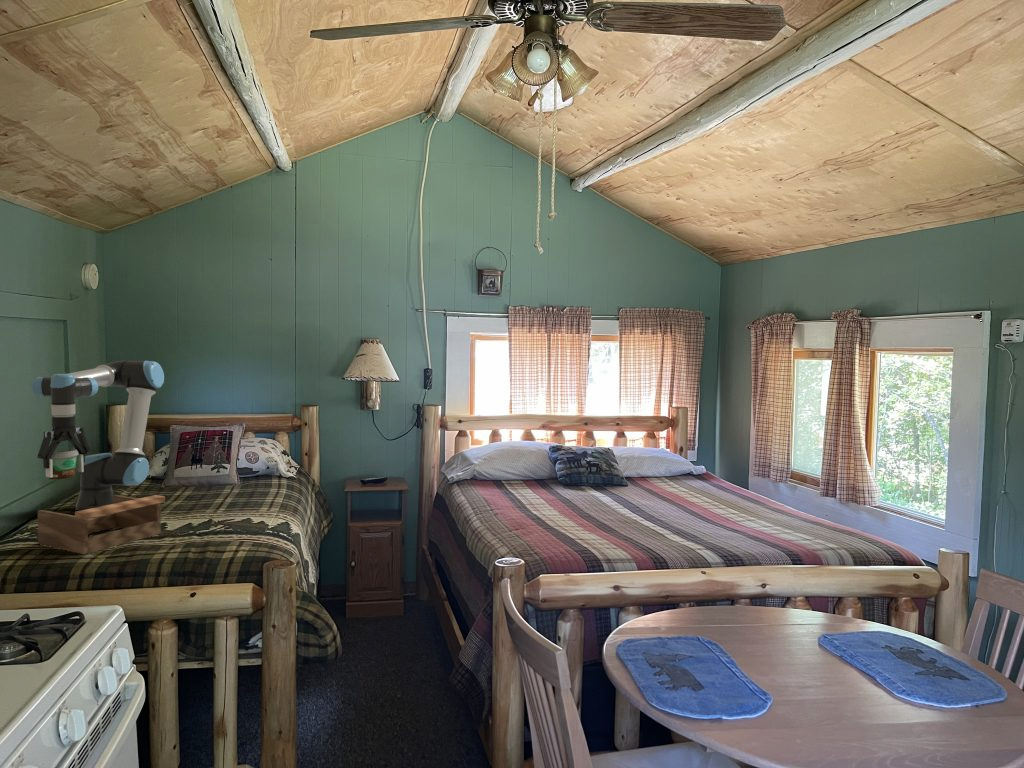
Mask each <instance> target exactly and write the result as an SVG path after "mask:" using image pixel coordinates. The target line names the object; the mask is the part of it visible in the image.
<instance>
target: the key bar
mask: <svg viewBox="0 0 1024 768" xmlns="http://www.w3.org/2000/svg"><path fill="white" fill-rule="evenodd" d="M165 502H166V497H165V496H163V495H157V494H154V495H150V496H149V495H148V496H145V497H141V498H139V499H134V500H130V501H125V502H120V503H115V504H110V505H106V506H101V507H96V508H91V509H87V510H82V511H74V516H75V518H79V519H87V520H88V519H92V518H97V517H101V516H106V515H110V514H113V513H117V512H121V511H126V510H130V509H135V508H139V507H144V506H148V505H153V504H157V503H161V504H162V503H165Z"/></svg>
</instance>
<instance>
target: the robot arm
mask: <svg viewBox="0 0 1024 768" xmlns="http://www.w3.org/2000/svg"><path fill="white" fill-rule="evenodd" d="M164 383H165V374H164V370H163V367H162V366H161V364H159V363H158V362H156V361H153V360H150V361H149V360H126V359H125V360H117V361H114V362H113V361H112V362H109V363H104V364H100V365H99V364H98V366H96V367H95V368H90V369H85V370H80V371H74V372H70V373H69V372H68V373H54V374H52V375H51V376H38V377H36V378H34V379H33V380H32V382H31V390H32V391H31V392H32V393H33V395H35V396H37V397H43V398H46V397H49V398H50V397H51V398H50V399H51V402H50V404H51V409H50V410H51V415H52V417H51V427H52V430H50V431H46V430H45V431H43V438H42V441H41V444H40V447H39V451H38V454H37V457H36V458H38V459H41V460H43V462H42V463H43V469H45V477H46V478H49V477H50V478H51V477H53V466H52V459H50V458H51V456H52V454H53V453H55V451H56V449H57V447H59V444H60V443H61V442H65V441H66V442H67V441H68V442H70V444H71V445H72V446H73V448H75V449H77V450H78V454H79V455H77V458H76V472H79V478H80V479H79V483H80V484H79V485H80V489H79V490H80V491H79V495H78V497H77V500H76V503H75V511H76V510H78V511H82V510H87V509H91V508H96V507H101V506H106V505H110V504H113V496H115V494H114V491H113V486H115V485H116V486H127V487H129V486H130V487H131V486H138V485H141V484H142V483H143V482H144V481H145V480H146V478H147V477H148V475H149V471H150V465H149V463H150V462H149V460H148V459H147V458H146V454H145V452H144V451H143V447H144V440H145V434H146V429H147V423H148V417H149V413H150V412H149V410H150V405H151V400H152V399H151V398H152V397H153V396H154V395H156V393H157V389H161V387H162V386H163V384H164ZM99 387H102V388H107V387H121V388H122V387H123V388H125V390H126V392H127V393H128V397H127V399H128V400H127V403H126V410H125V416H124V421H123V426H122V433H121V437H120V442H119V443H120V444H119V448H118V449H117V450H115V451H114V454H112V453H111V452H104V453H102V452H101V453H97V454H96V453H95V454H90V455H87V454H88V453H89V452H90V451H91V449H90V446H89V444H88V441H87V439H86V436H85V433H84V432H85V431H84V427H76V426H77V425H76V423H77V422H76V419H77V418H76V416H75V415H76V399H81V398H89V397H92V396H95V395H96V394H97V393H98V391H99ZM75 434H76V435H75ZM77 438H78V439H77Z"/></svg>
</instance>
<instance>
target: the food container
mask: <svg viewBox="0 0 1024 768" xmlns="http://www.w3.org/2000/svg"><path fill="white" fill-rule="evenodd" d="M77 455H79V453H78V450H77V449H75V448H74V447H71V450H63V451H62V450H61V451H57V452H54V453H53V454H52V456H51V458H50V459H52V466H53V477H51V478H50V477H48V478H49V480H65V479H70V478H75V477H76V472H77Z"/></svg>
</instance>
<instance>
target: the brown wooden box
mask: <svg viewBox="0 0 1024 768" xmlns="http://www.w3.org/2000/svg"><path fill="white" fill-rule="evenodd" d="M134 499H139V498H137V497H133V496H125V495H117V494H114V496H113V504H115V503H120V502H125V501H130V500H134ZM161 504H162V503H157V504H153V505H148V506H144V507H139V508H135V509H130V510H126V511H121V512H117V513H112V514H108V515H103V516H99V517H94V518H90V519H79V518H75V515H72V514H68V513H61V512H56V511H49V510H45V509H39V510H37V545H38V544H42V545H46V546H51V547H55V548H54V549H56V548H60V549H63V550H62V551H65V550H67V551H66V552H70V551H71V553H75V552H76V553H75V554H81V555H86V554H91V553H93V552H94V553H95V552H97V551H98V552H99V551H100V550H102V551H103V550H104V549H108V548H112V547H113V548H114V547H116V546H119V545H123V544H128V543H130V542H134V541H135V542H136V541H139V540H142V539H146V538H149V537H153V536H158V535H161V534H162V522H161V521H162V516H161V515H162V511H161V508H162V507H161ZM118 527H119V528H120V529H119V528H118ZM113 528H114V529H115V528H118V529H115V530H112V531H108V532H107V531H106V532H104V533H100V534H99V533H98V532H101V530H102V531H105V530H110V529H113ZM93 532H94V533H98V534H95V535H92V536H89V534H93ZM46 546H45V547H46ZM51 547H50V548H51ZM60 549H59V550H60Z"/></svg>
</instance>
